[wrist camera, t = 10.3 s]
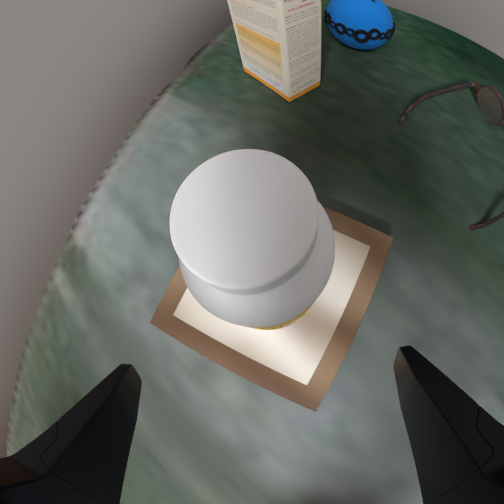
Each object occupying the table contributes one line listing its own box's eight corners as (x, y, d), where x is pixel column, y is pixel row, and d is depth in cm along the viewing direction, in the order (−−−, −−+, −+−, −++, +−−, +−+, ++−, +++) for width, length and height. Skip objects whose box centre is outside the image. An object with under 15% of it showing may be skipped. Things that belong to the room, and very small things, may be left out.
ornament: (324, 26, 31) (324, -32, 21) (384, 36, 29) (393, -20, 20) (323, 57, 29) (324, -11, 19) (392, 69, 27) (407, 4, 18)
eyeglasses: (536, 189, 21) (558, 169, 16) (473, 241, 21) (502, 221, 16) (467, 95, 26) (480, 69, 21) (389, 119, 26) (400, 86, 21)
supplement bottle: (218, 324, 21) (120, 304, 9) (231, 236, 22) (166, 127, 10) (312, 335, 20) (344, 335, 7) (321, 243, 21) (349, 130, 9)
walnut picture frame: (314, 407, 19) (315, 411, 18) (156, 323, 23) (149, 322, 22) (389, 242, 22) (393, 237, 21) (236, 178, 25) (233, 170, 24)
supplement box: (322, 85, 27) (325, -19, 15) (289, 104, 27) (279, -8, 15) (273, 54, 30) (261, -37, 17) (241, 70, 30) (219, -24, 17)
